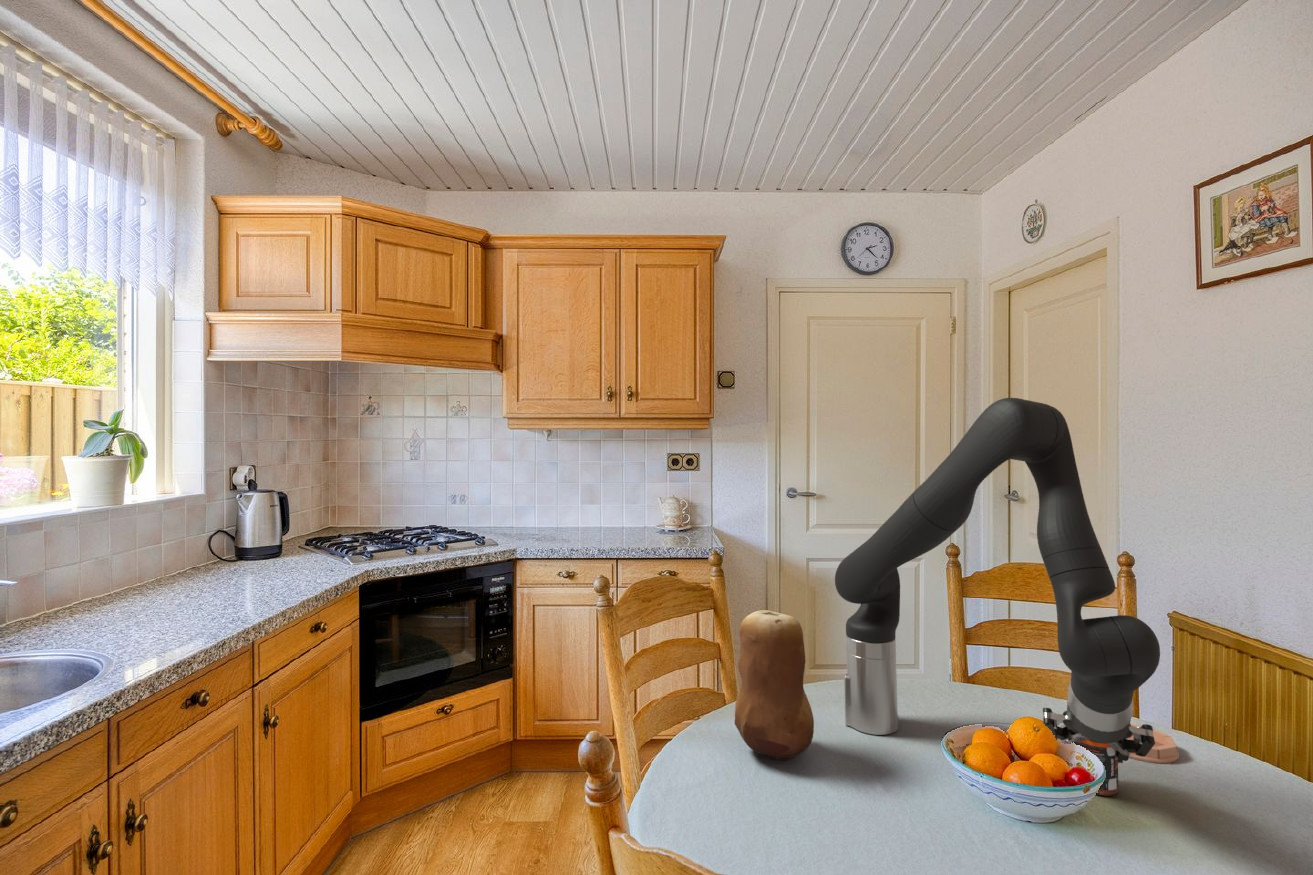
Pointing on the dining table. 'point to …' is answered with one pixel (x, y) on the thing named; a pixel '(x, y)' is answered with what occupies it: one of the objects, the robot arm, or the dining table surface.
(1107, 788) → the supplement bottle
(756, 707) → the butternut squash
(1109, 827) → the dining table surface
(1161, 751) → the coaster dish
